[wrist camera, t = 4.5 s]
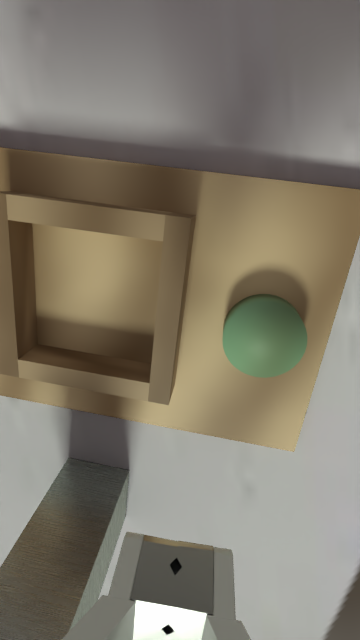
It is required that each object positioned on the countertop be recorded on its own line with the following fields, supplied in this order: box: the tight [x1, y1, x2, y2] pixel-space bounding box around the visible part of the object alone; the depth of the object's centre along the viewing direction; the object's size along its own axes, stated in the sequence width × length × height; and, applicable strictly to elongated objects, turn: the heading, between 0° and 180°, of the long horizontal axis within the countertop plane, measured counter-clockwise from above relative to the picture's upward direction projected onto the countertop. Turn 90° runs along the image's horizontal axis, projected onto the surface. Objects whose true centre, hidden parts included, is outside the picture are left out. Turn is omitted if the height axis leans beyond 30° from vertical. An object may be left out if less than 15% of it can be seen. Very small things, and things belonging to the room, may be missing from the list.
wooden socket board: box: [0, 147, 360, 452], centre depth 16 cm, size 18×13×3 cm
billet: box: [0, 458, 129, 640], centre depth 17 cm, size 4×4×10 cm
